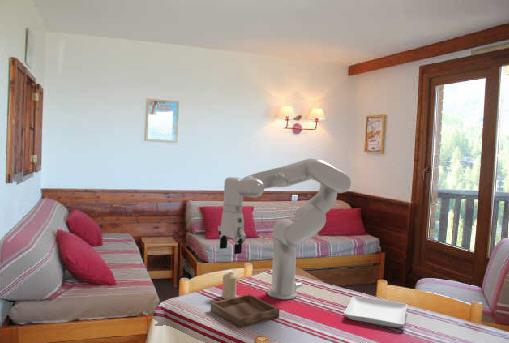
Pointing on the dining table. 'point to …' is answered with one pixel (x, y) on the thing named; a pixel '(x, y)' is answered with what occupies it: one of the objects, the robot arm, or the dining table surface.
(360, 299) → the salad plate
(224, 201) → the robot arm
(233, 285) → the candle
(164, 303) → the dining table surface
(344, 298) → the dining table surface
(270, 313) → the walnut tray
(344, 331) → the dining table surface
